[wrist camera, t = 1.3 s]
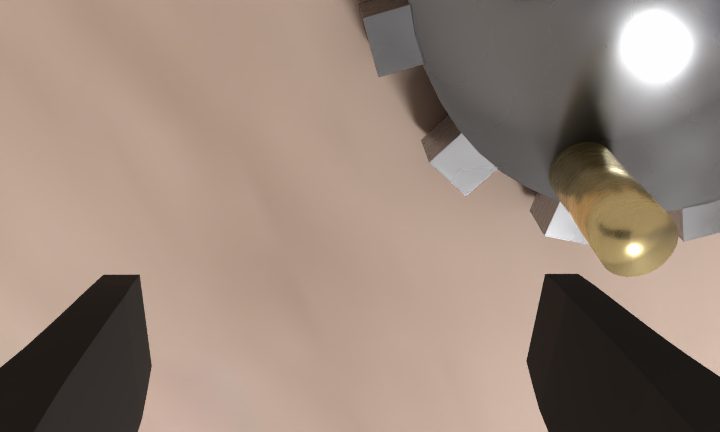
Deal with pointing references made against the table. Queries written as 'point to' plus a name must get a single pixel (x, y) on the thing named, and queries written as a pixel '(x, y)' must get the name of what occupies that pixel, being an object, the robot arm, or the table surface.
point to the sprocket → (574, 110)
